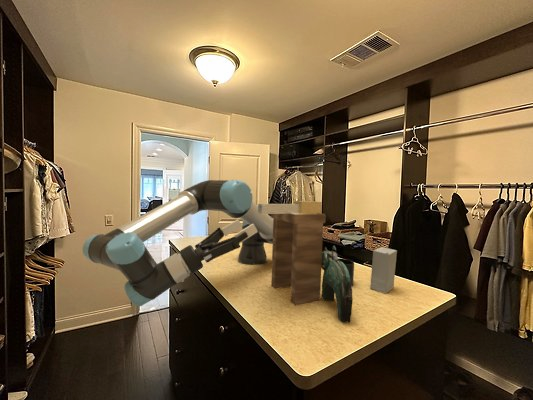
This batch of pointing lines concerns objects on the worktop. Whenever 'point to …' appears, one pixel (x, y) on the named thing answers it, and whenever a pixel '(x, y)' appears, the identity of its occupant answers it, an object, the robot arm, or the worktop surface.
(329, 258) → the dark green curved figure
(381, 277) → the skincare box
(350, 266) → the mug
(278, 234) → the walnut shelf
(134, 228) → the robot arm
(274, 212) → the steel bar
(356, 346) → the worktop surface
